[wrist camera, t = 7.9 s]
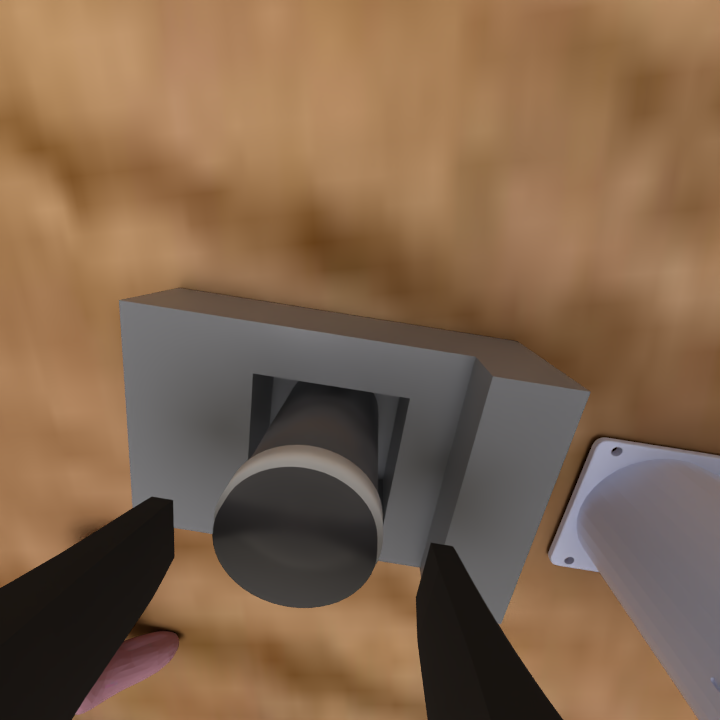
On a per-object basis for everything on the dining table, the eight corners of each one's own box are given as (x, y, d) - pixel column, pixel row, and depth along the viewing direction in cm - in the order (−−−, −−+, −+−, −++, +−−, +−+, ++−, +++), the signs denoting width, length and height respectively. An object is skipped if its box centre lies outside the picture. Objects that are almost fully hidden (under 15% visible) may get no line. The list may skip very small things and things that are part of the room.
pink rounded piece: (126, 504, 23) (-28, 590, 17) (170, 534, 21) (12, 644, 15) (147, 615, 26) (23, 720, 20) (187, 651, 24) (62, 781, 18)
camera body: (517, 341, 16) (590, 391, 11) (465, 513, 20) (500, 623, 14) (179, 287, 16) (73, 309, 11) (181, 467, 20) (99, 558, 14)
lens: (388, 372, 16) (395, 484, 9) (374, 459, 18) (371, 622, 10) (286, 359, 16) (205, 459, 9) (282, 447, 18) (208, 599, 10)
